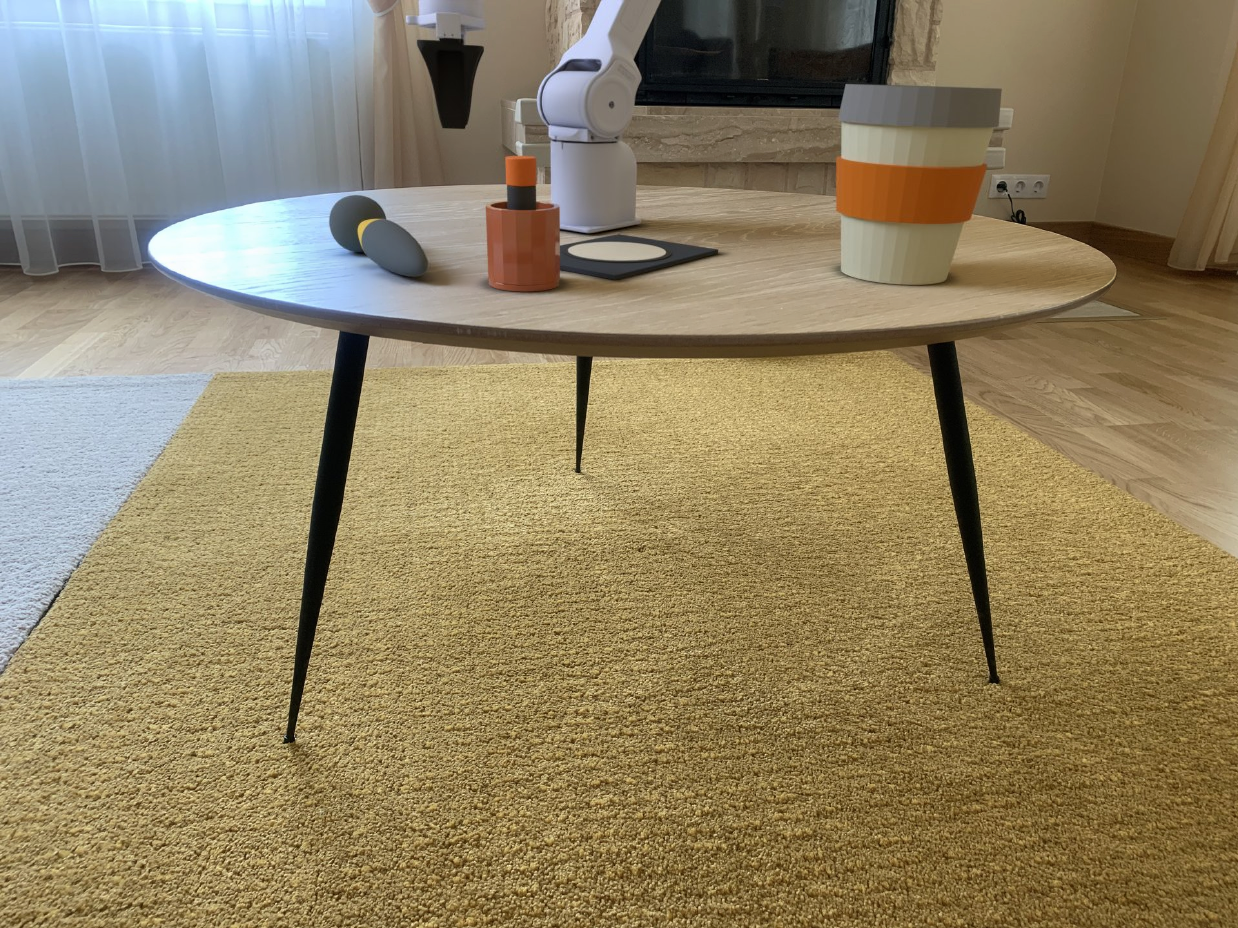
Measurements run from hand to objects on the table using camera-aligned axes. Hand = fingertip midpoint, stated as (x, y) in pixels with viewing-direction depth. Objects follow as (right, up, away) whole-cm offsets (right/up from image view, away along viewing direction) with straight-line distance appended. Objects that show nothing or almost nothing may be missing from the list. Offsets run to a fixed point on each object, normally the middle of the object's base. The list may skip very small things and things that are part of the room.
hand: (455, 126), depth 82 cm
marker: (+8, -17, -14) cm, 24 cm away
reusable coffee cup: (+39, -16, -7) cm, 43 cm away
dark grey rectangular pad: (+15, -13, -3) cm, 20 cm away
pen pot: (+8, -18, -14) cm, 24 cm away
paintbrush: (-5, -15, -7) cm, 17 cm away
